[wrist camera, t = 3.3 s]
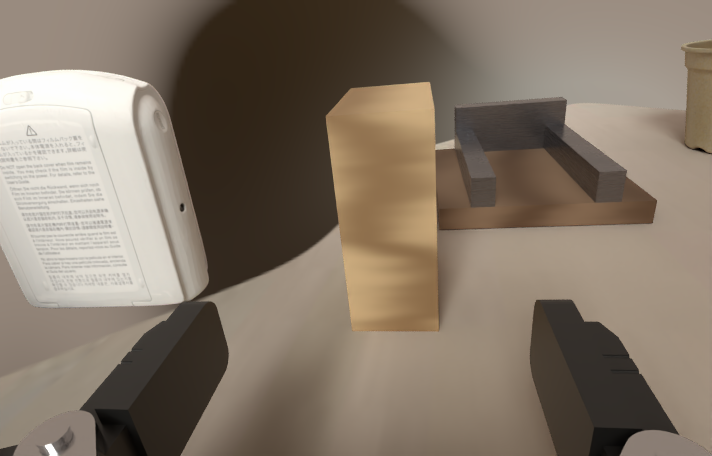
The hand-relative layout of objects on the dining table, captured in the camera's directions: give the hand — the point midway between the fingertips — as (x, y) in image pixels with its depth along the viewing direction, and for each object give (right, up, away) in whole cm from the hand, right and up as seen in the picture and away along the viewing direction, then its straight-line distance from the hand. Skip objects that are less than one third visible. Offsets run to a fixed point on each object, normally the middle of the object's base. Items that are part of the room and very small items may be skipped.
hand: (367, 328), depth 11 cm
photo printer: (-14, -1, +15) cm, 20 cm away
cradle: (+13, +6, +24) cm, 27 cm away
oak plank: (+2, -1, +12) cm, 13 cm away
